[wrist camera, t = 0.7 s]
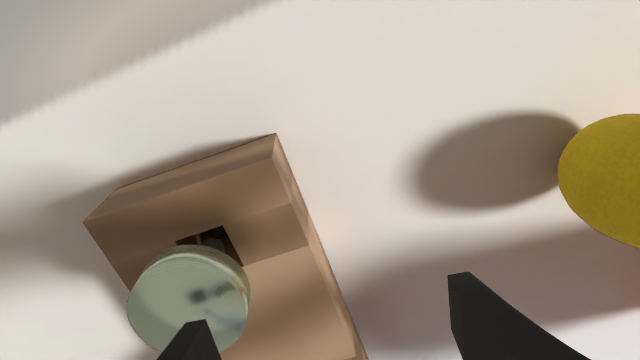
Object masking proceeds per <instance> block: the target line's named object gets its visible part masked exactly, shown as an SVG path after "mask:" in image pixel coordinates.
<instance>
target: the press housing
mask: <svg viewBox="0 0 640 360" xmlns="http://www.w3.org/2000/svg"><path fill="white" fill-rule="evenodd" d="M83 224H84V225H85V226H86V228H87V229H88V231H89V232H90V234H91V235H92V237H93V238H94V240H95V241H96V242H97V244H98V245H99V247H100V248H101V250H102V251H103V253H104V254H105V256H106V257H107V259H108V260H109V261H110V263H111V264H112V266H113V267H114V269H115V270H116V272H117V273H118V275H119V276H120V277H121V279H122V280H123V282H124V283H125V285H126V286H127V288H128V289H129V291H130V292H131V290H132V289H133V287H134V285H135V284H136V282H137V280H138V279H139V277H140V275H141V274H142V272H143V270H144V269H145V267H146V266H147V264H148V263H149V261H150V260H151V259H152V258H153V257H155V256H156V255H157V254H159V253H160V252H162V251H164V250H166V249H169V248H172V247H175V246H180V245H200V243H201V241H202V240H204V239H206V238H209V237H210V236H209V234H208V232H207V230H210V229H213V228H216V227H219V226H222V225H223V227H224V229H225V231H226V232H227V234H228V237H225V238H222V239H219V240H220V241H221V242H222V243H223V244H224V247H225V251H224V253H225V254H227V255H228V256H230V257H231V258H233V259H234V260H235V261H236V262H237V263H238V264H239V265H240V266H241V267H242V268H243V270H244V271H245V273H246V275H247V277H248V279H249V283H250V288H251V296H250V302H249V308H248V314H247V320H246V324H245V328H244V330H243V333H242V334H241V336H240V337H239V339H238V340H237V341H236V342H235V343H234V344H233V345H232V346H230V347H229V348H227V349H226V350H224V351H222V352H220V353H219V354H220V356H221V359H222V360H368V357H367V355H366V352H365V350H364V347H363V345H362V342H361V340H360V338H359V335H358V333H357V330H356V328H355V325H354V323H353V320H352V318H351V315H350V313H349V311H348V308H347V306H346V303H345V301H344V298H343V296H342V293H341V291H340V288H339V286H338V283H337V281H336V279H335V276H334V274H333V271H332V269H331V266H330V264H329V261H328V259H327V256H326V254H325V252H324V249H323V247H322V244H321V242H320V239H319V237H318V234H317V232H316V229H315V227H314V224H313V222H312V220H311V217H310V215H309V212H308V210H307V207H306V205H305V202H304V200H303V197H302V195H301V193H300V190H299V188H298V185H297V183H296V180H295V178H294V175H293V173H292V170H291V168H290V165H289V163H288V161H287V158H286V156H285V153H284V151H283V148H282V146H281V143H280V141H279V138H278V136H277V134H276V133H275V134H272V135H270V136H267V137H264V138H261V139H258V140H255V141H252V142H250V143H247V144H244V145H241V146H238V147H235V148H232V149H230V150H227V151H224V152H221V153H218V154H215V155H212V156H210V157H207V158H204V159H201V160H198V161H195V162H192V163H190V164H187V165H184V166H181V167H178V168H175V169H172V170H170V171H167V172H164V173H161V174H158V175H155V176H152V177H150V178H147V179H144V180H141V181H138V182H135V183H132V184H130V185H127V186H124V187H121V188H118V189H116V190H115V191H114V192H113V193H112V194H111V195H110V196H109V197H108V198H107V199H106V200H105V201H104V202H103V203H102V204H101V205H100V206H99V207H98V208H97V209H96V210H95V211H94V212H93V213H91V214H90V215H89V216H88V217H87V218H86V219H85V220H84V221H83Z"/></svg>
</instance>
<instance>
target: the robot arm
mask: <svg viewBox="0 0 640 360" xmlns="http://www.w3.org/2000/svg"><path fill="white" fill-rule="evenodd" d="M448 290H449V305H450V319H451V330H452V332H453V335H454V338H455V340H456V343H457V345H458V348H459V351H460V353H461V356H462V358H463V360H590V359H589V358H587V357H585V356H584V355H582V354H580V353H578V352H577V351H575V350H574V349H572V348H571V347H569V346H567V345H566V344H564V343H563V342H561V341H560V340H558V339H557V338H555V337H554V336H552V335H551V334H549V333H548V332H546V331H545V330H544V329H542V328H541V327H539V326H538V325H537V324H535V323H534V322H532V321H531V320H530V319H528V318H527V317H526V316H524V315H523V314H522V313H520V312H519V311H518V310H516V309H515V308H514V307H512V306H511V305H510V304H508V303H507V302H506V301H505V300H503V299H502V298H501V297H500V296H498V295H497V294H496V293H494V292H493V291H492V290H491V289H490V288H488V287H487V286H486V285H485V284H483V283H482V282H481V281H480V280H479V279H477V278H476V277H475V276H474V275H473V274H471V273H470V272H464V273H458V274H453V275H448ZM157 360H222V359H221V356H220V354H219V351H218V349H217V346H216V344H215V341H214V339H213V336H212V334H211V331H210V328H209V326H208V323H207V321H206V319H202V320H197V321H191V322H186V323H185V324H184V325H183V326H182V328H181V329H180V330H179V331H178V333H177V334H176V335H175V337H174V338H173V339H172V340H171V342H170V343H169V344H168V346H167V347H166V348H165V350H164V351H163V352H162V353H161V355H160V356H159V357H158V359H157Z"/></svg>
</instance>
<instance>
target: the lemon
mask: <svg viewBox="0 0 640 360" xmlns="http://www.w3.org/2000/svg"><path fill="white" fill-rule="evenodd" d="M557 177H558V182H559V187H560V190H561V193H562V195H563V196H564V198H565V200H566V202H567V203H568V205H569V207H570V208H571V209H572V210H573V211H574V212H575V213H576V214H577V215H578V216H579V217H580V218H581V219H582V220H584V221H585V222H586V223H587V224H588V225H590V226H591V227H592V228H594V229H595V230H597V231H598V232H600V233H602V234H604V235H606V236H608V237H610V238H613V239H615V240H618V241H620V242H622V243H625V244H628V245H630V246H633V247H637V248H640V114H622V115H617V116H612V117H608V118H604V119H601V120H599V121H597V122H595V123H592V124H590V125H588V126H587V127H585V128H584V129H583V130H581V131H580V132H578V133H577V134H576V135H575V136H574V137H573V138H572V139H571V140H570V141H569V142H568V144H567V145H566V147H565V148H564V150H563V152H562V154H561V157H560V160H559V163H558V172H557Z"/></svg>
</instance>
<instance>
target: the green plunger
mask: <svg viewBox="0 0 640 360" xmlns="http://www.w3.org/2000/svg"><path fill="white" fill-rule="evenodd" d="M224 251H225V247H224V244H223V243H222V242H221V241H220V240H219V239H217V238H213V237H209V238H206V239H204V240H202V241H201V243H200V245H180V246H175V247H172V248H169V249H166V250H164V251H162V252H160V253H159V254H157V255H156V256H155V257H153V258H152V259H151V260H150V261H149V263H148V264H147V266H146V267H145V269H144V270H143V272H142V274H141V275H140V277H139V279H138V280H137V282H136V284H135V285H134V287H133V289H132V290H131V292H130V294H129V297H128V301H127V316H128V319H129V322H130V324H131V326H132V328H133V330H134V331H135V332H136V334H137V335H138V336H139V337H140V338H141V339H142V340H143V341H144V342H145V343H147V344H148V345H149V346H151V347H153V348H154V349H156V350H158V351H161V352H163V351H164V350H165V348H166V347H167V346H168V344H169V343H170V342H171V340H172V339H173V338H174V337H175V335H176V334H177V333H178V331H179V330H180V329H181V328H182V326H183V325H184V324H185V323H186V322H191V321H197V320H202V319H206V321H207V323H208V326H209V328H210V331H211V334H212V336H213V339H214V341H215V344H216V346H217V349H218V351H219V353H220V352H222V351H224V350H226V349H227V348H229V347H230V346H232V345H233V344H234V343H235V342H236V341H237V340H238V339H239V337H240V336H241V334H242V333H243V330H244V328H245V324H246V320H247V314H248V308H249V302H250V296H251V288H250V283H249V279H248V277H247V275H246V273H245V271H244V270H243V268H242V267H241V266H240V265H239V264H238V263H237V262H236V261H235V260H234V259H233V258H231V257H230V256H228V255H227V254H225V253H224Z"/></svg>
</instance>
